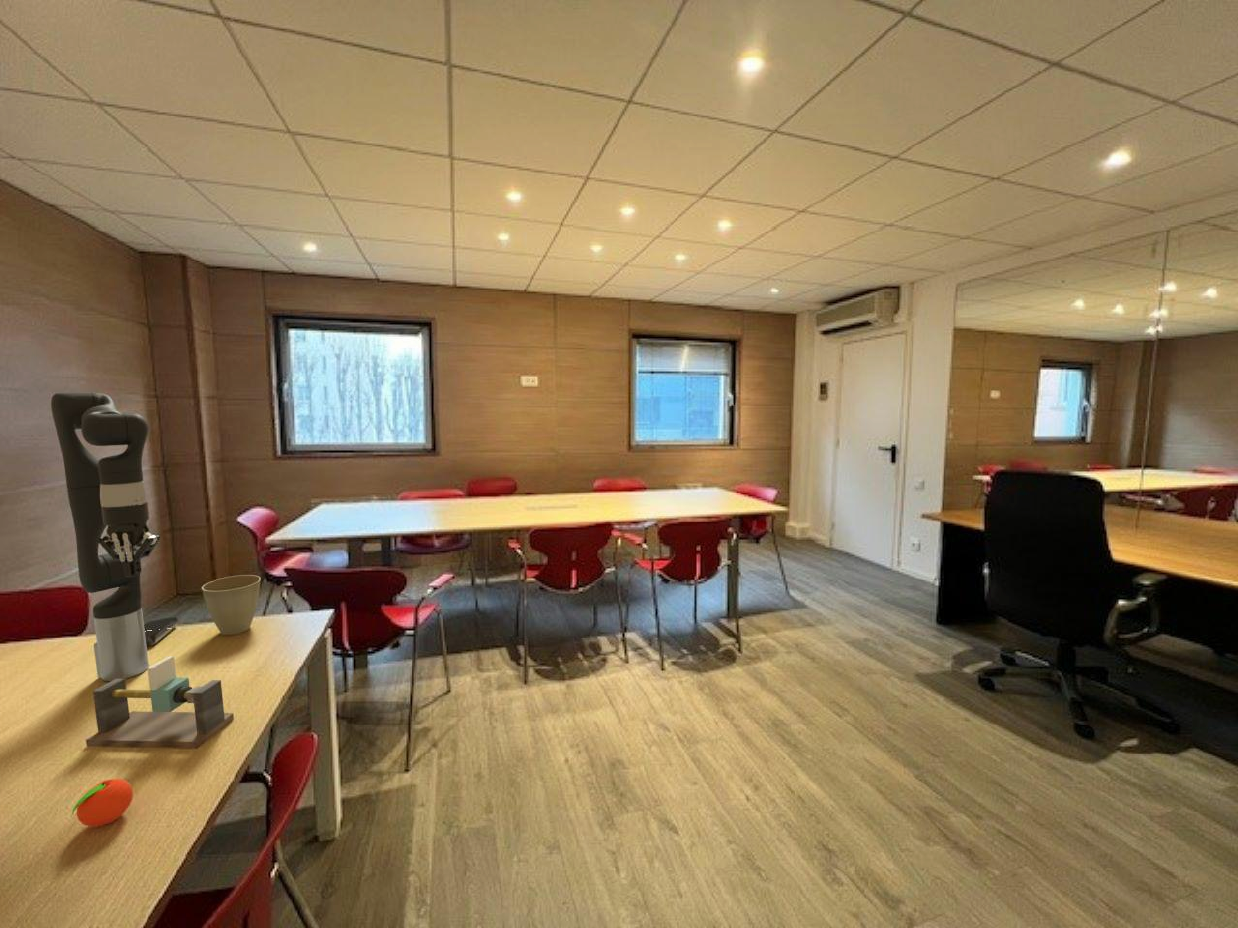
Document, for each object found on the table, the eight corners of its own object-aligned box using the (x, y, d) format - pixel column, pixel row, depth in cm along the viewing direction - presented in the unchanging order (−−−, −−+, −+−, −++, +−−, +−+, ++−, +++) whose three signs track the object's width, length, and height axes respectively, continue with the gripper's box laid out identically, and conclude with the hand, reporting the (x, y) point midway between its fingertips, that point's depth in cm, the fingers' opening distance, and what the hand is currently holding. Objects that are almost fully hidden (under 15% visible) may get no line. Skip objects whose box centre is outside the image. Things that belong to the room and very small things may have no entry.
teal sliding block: (152, 711, 109) (147, 667, 108) (173, 698, 114) (168, 656, 113) (170, 711, 109) (165, 668, 108) (190, 698, 114) (186, 656, 113)
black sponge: (153, 648, 151) (151, 637, 150) (117, 653, 148) (116, 641, 148) (181, 626, 166) (179, 615, 166) (149, 629, 164) (147, 618, 163)
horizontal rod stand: (86, 746, 108) (80, 697, 106) (132, 717, 118) (127, 672, 116) (197, 748, 107) (191, 699, 106) (233, 718, 117) (229, 674, 116)
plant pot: (227, 644, 153) (222, 593, 151) (195, 636, 158) (190, 587, 156) (275, 624, 167) (271, 577, 165) (244, 617, 172) (240, 572, 170)
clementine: (88, 846, 83) (83, 807, 83) (60, 836, 85) (54, 798, 84) (145, 809, 91) (140, 772, 90) (118, 801, 93) (113, 765, 92)
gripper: (78, 505, 111) (87, 581, 113) (137, 505, 111) (145, 582, 113) (112, 498, 118) (121, 570, 120) (168, 499, 118) (175, 571, 120)
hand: (133, 575), depth 117 cm, fingers closed
